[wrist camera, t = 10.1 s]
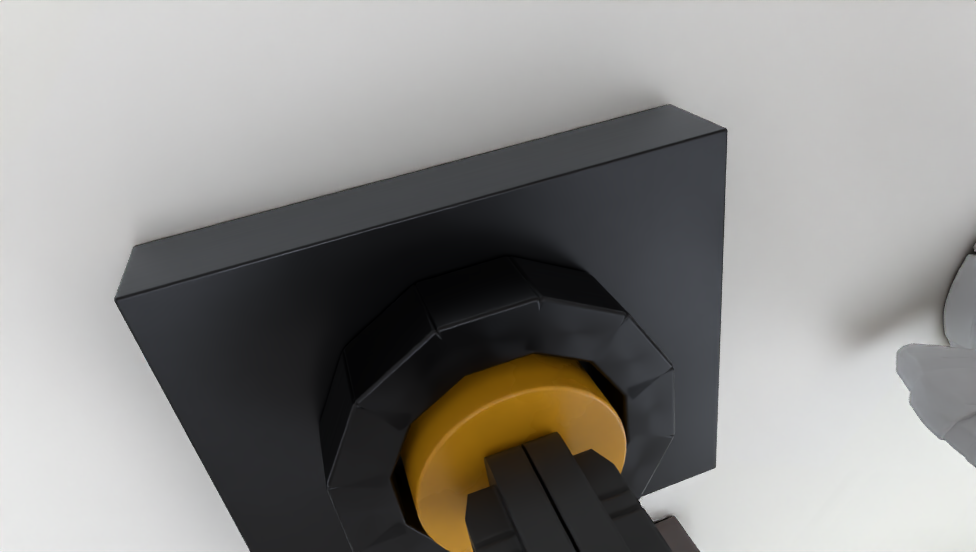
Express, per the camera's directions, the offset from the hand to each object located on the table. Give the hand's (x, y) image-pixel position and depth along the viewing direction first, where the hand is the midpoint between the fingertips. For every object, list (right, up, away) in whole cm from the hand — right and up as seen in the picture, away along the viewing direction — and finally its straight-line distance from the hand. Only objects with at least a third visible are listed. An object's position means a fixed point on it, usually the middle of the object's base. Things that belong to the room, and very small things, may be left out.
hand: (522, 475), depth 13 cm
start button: (-1, +1, +2) cm, 2 cm away
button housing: (-1, +2, +4) cm, 5 cm away
